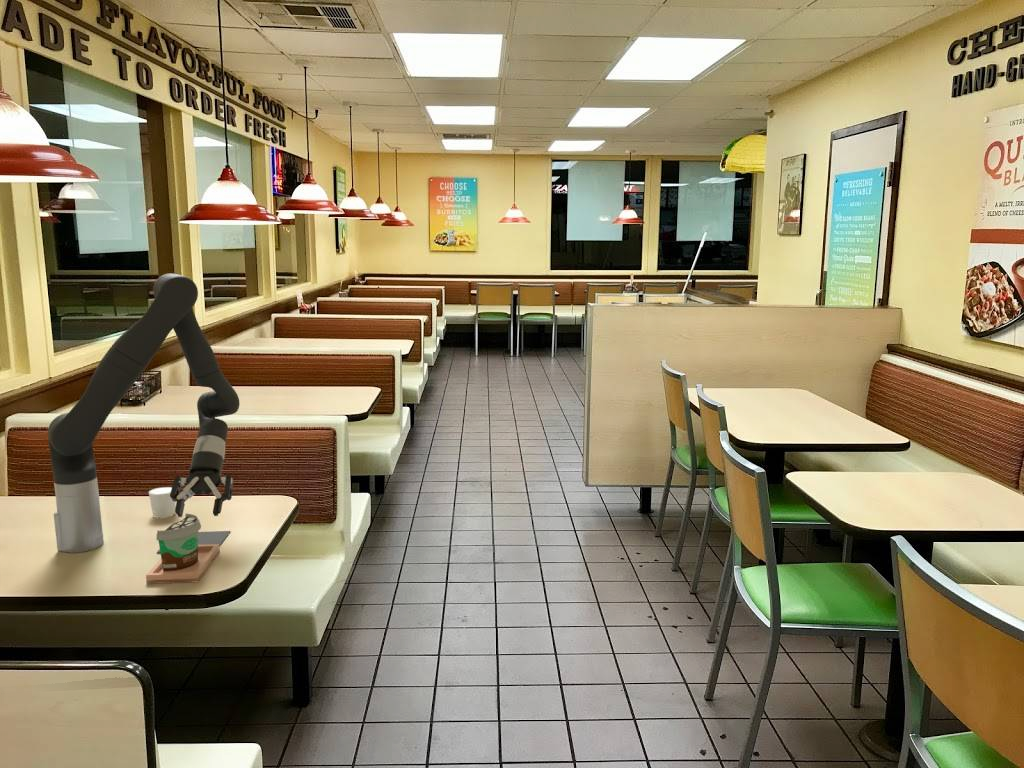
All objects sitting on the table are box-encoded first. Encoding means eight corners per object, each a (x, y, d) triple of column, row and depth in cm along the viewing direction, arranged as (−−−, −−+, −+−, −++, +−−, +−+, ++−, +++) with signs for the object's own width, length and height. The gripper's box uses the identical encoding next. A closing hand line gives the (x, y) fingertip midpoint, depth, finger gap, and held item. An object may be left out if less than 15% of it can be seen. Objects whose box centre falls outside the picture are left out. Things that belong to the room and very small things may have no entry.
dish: (146, 583, 170) (145, 575, 169) (173, 553, 186) (172, 545, 186) (198, 581, 170) (197, 573, 170) (219, 551, 187) (219, 544, 187)
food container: (184, 575, 172) (181, 532, 170) (159, 573, 173) (155, 531, 171) (213, 554, 184) (210, 514, 182) (190, 552, 185) (186, 512, 183)
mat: (156, 553, 186) (156, 552, 186) (175, 533, 199) (174, 532, 199) (216, 551, 188) (216, 550, 188) (230, 531, 200) (230, 530, 200)
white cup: (171, 518, 210) (168, 494, 209) (146, 518, 210) (143, 494, 209) (181, 510, 217) (180, 486, 216) (157, 510, 217) (155, 486, 216)
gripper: (175, 450, 193) (162, 509, 184) (233, 449, 194) (223, 507, 185) (183, 465, 199) (171, 522, 190) (240, 463, 201) (231, 521, 191)
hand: (197, 515), depth 188 cm, fingers open, 8 cm apart
